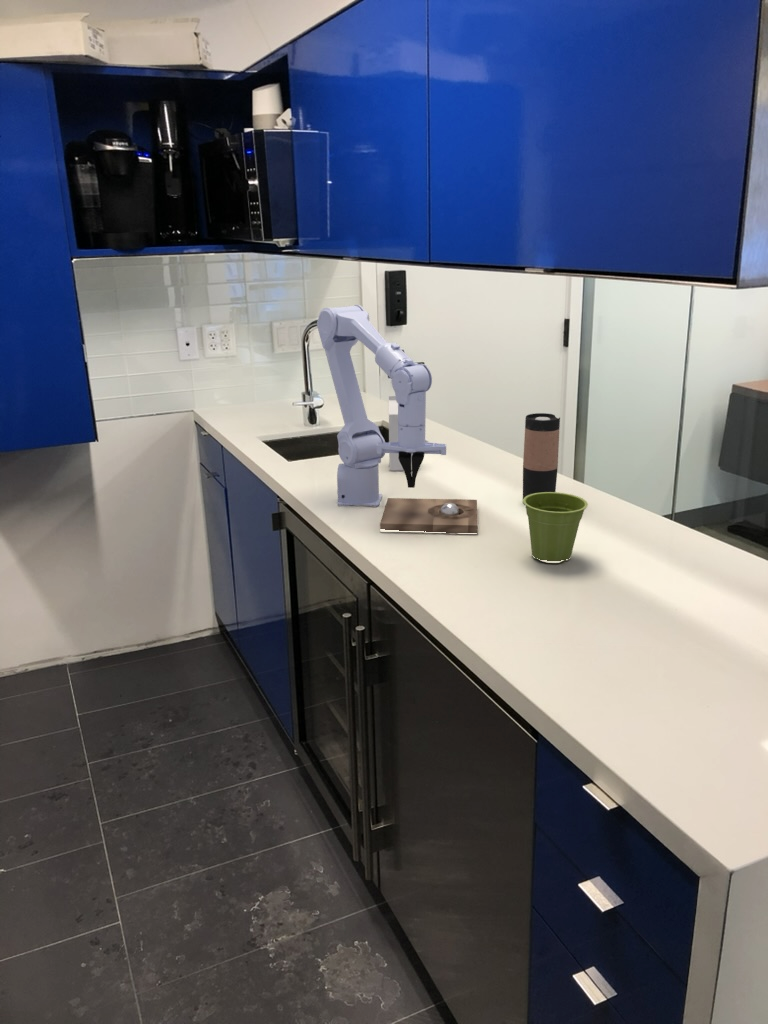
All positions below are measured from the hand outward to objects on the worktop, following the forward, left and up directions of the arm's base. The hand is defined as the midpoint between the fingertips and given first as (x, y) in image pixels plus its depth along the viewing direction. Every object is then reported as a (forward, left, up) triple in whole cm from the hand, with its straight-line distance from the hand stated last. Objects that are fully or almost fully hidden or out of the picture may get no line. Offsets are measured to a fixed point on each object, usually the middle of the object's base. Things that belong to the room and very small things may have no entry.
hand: (411, 486), depth 177 cm
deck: (+4, 0, -8) cm, 9 cm away
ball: (+8, -1, -6) cm, 10 cm away
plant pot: (+28, -20, -8) cm, 35 cm away
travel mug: (+28, +13, -8) cm, 32 cm away
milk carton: (-5, +41, -8) cm, 42 cm away
